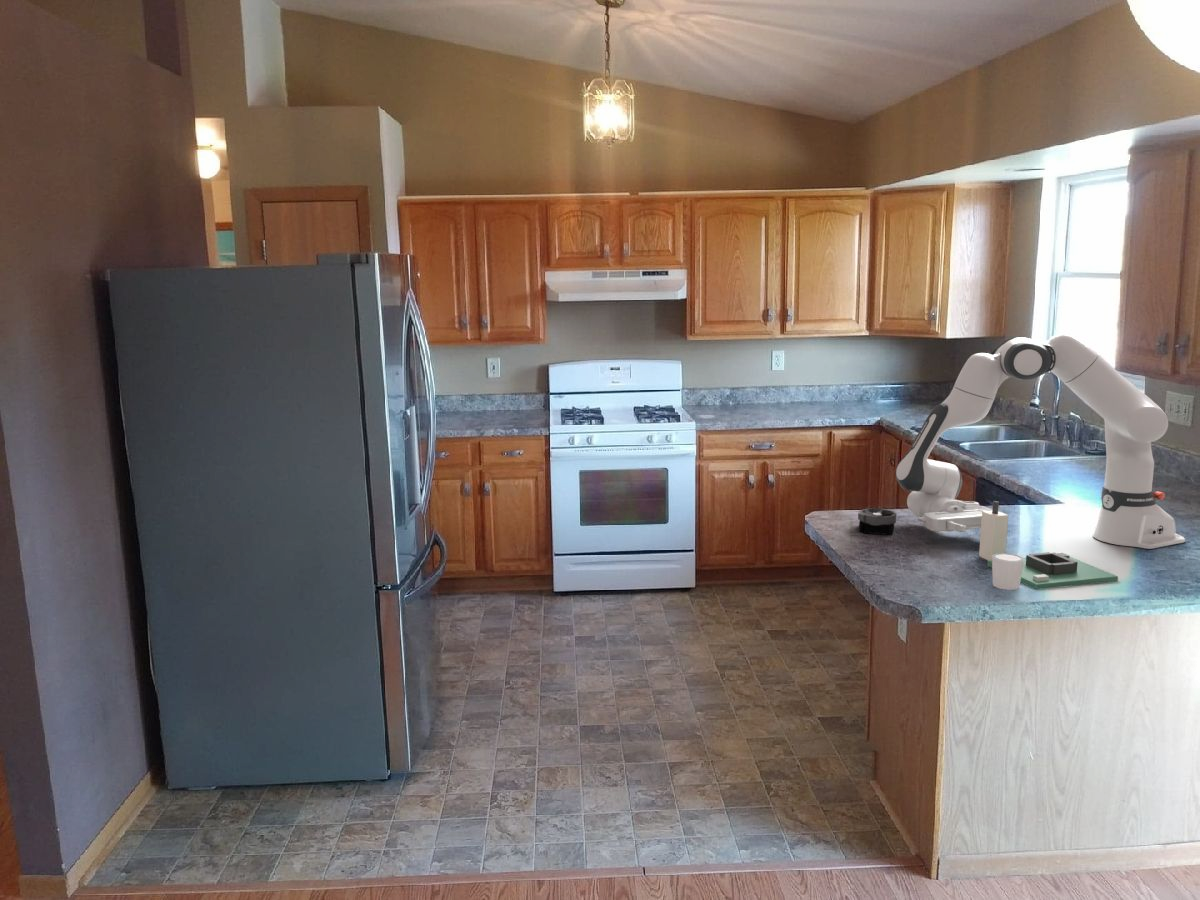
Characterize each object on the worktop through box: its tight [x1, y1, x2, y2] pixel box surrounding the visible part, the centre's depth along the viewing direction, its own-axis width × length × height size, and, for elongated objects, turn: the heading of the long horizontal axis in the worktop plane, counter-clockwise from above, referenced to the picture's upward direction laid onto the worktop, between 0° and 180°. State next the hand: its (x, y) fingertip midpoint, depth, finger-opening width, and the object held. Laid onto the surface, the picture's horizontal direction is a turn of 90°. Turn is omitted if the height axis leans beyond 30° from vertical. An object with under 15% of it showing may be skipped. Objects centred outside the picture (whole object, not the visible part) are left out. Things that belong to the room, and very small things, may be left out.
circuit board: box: [986, 551, 1119, 590], centre depth 214 cm, size 22×18×4 cm
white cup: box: [991, 552, 1025, 591], centre depth 206 cm, size 7×7×7 cm
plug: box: [978, 500, 1009, 561], centre depth 225 cm, size 4×5×15 cm
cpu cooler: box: [857, 508, 897, 536], centre depth 253 cm, size 10×6×10 cm
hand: (979, 527), depth 231 cm, fingers open, 8 cm apart
